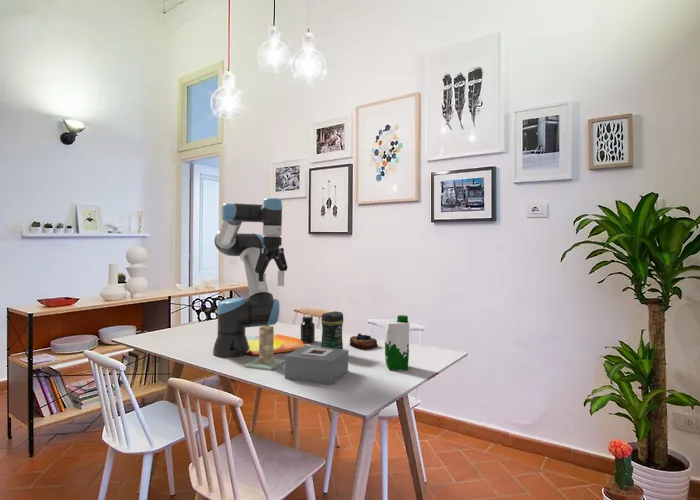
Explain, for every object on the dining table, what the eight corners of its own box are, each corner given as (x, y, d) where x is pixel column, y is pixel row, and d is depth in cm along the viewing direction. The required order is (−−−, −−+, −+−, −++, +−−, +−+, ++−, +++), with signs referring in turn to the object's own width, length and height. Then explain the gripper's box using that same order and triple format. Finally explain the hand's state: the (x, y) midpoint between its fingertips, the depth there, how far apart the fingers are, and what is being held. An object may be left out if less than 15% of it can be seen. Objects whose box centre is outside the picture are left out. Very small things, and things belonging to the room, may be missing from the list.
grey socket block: (284, 378, 144) (284, 354, 144) (305, 365, 159) (305, 344, 159) (331, 384, 138) (331, 360, 137) (348, 371, 153) (348, 348, 153)
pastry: (365, 342, 198) (365, 330, 198) (380, 347, 188) (380, 335, 188) (346, 345, 192) (346, 333, 191) (361, 351, 182) (361, 338, 182)
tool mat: (244, 366, 157) (244, 364, 157) (261, 358, 168) (261, 356, 168) (271, 370, 153) (271, 368, 153) (287, 361, 164) (287, 359, 164)
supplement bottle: (316, 340, 199) (317, 316, 199) (311, 344, 193) (311, 318, 193) (304, 339, 202) (304, 315, 201) (298, 342, 195) (298, 317, 195)
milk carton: (410, 370, 154) (411, 318, 153) (387, 371, 153) (387, 318, 152) (405, 364, 162) (406, 314, 162) (383, 364, 161) (383, 314, 161)
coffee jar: (331, 359, 168) (332, 314, 168) (317, 355, 173) (318, 312, 173) (346, 354, 176) (346, 311, 175) (332, 351, 181) (332, 309, 180)
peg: (259, 363, 159) (259, 327, 159) (264, 360, 163) (264, 325, 163) (268, 364, 158) (268, 328, 157) (273, 361, 161) (273, 326, 161)
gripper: (262, 236, 153) (261, 292, 154) (295, 236, 176) (295, 285, 177) (245, 235, 156) (245, 290, 157) (281, 236, 179) (280, 284, 180)
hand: (271, 287), depth 167 cm, fingers open, 13 cm apart
